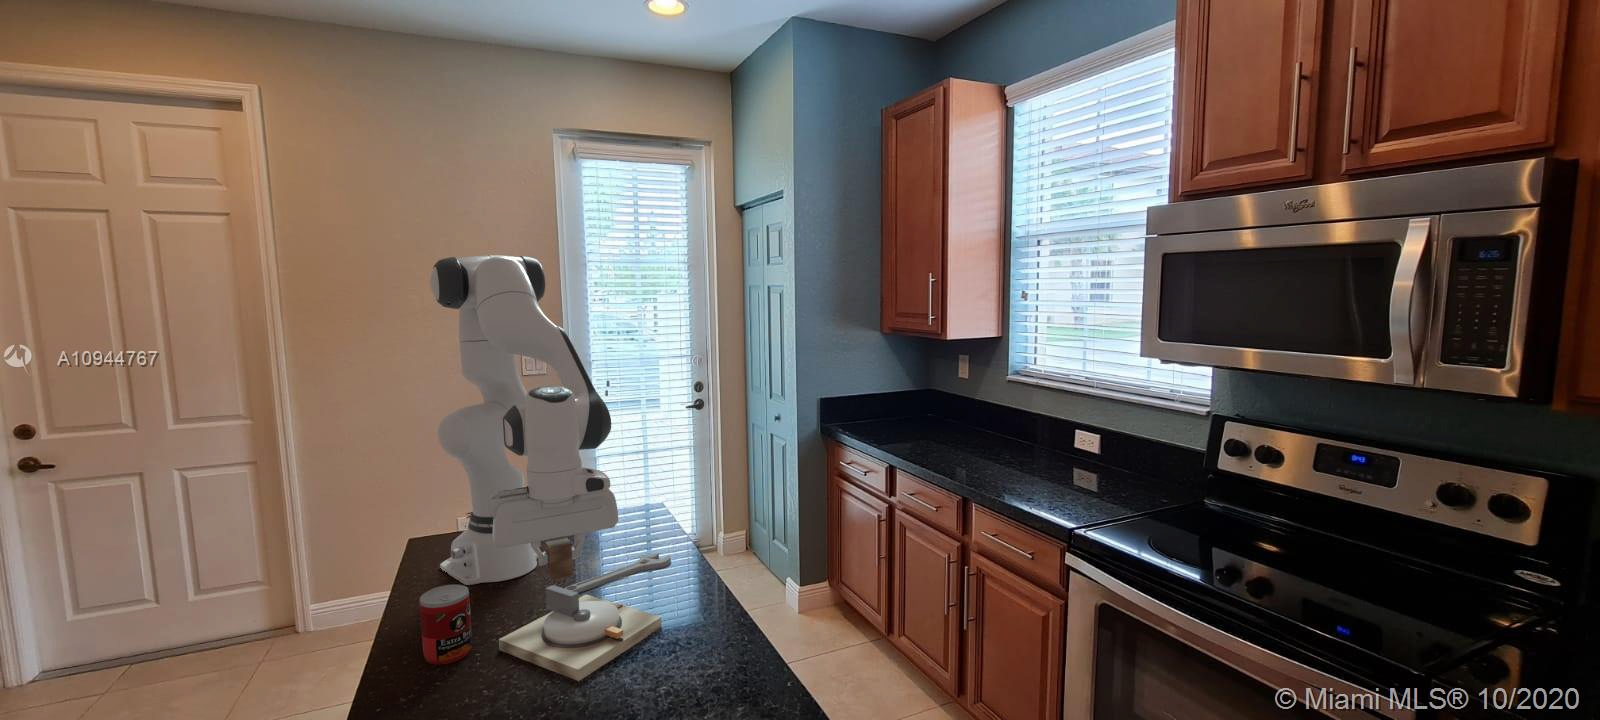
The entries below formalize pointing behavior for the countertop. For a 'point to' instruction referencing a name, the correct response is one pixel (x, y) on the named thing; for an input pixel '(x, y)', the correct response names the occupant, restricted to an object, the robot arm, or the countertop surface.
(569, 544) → the block
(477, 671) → the countertop surface
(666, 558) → the adjustable wrench
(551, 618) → the dial
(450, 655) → the canned food
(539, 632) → the panel
